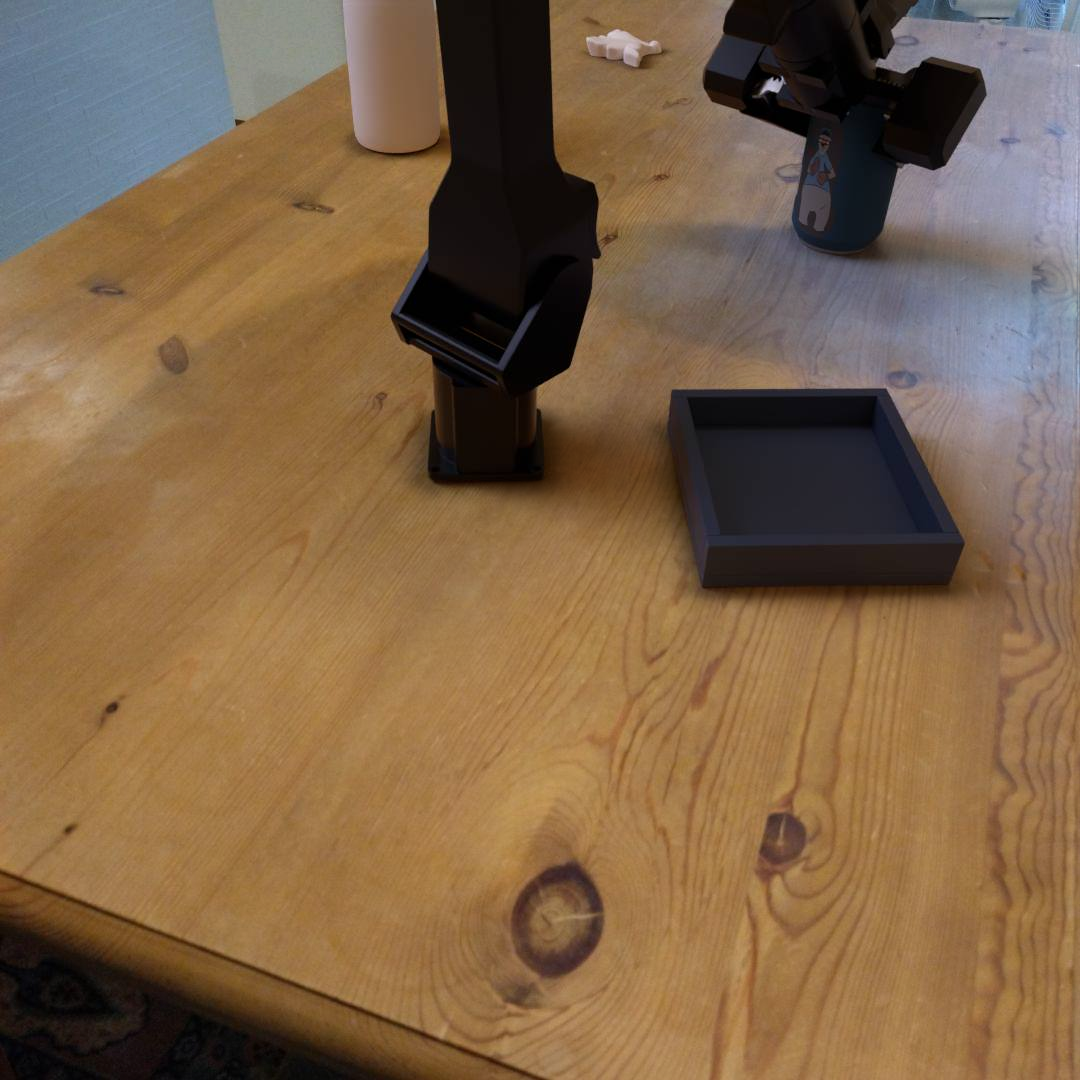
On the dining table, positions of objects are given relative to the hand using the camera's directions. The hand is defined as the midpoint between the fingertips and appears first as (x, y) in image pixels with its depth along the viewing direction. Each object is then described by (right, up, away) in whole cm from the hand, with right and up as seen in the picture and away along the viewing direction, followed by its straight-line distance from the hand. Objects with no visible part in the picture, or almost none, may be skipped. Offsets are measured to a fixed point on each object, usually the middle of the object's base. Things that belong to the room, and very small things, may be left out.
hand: (861, 148), depth 79 cm
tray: (-10, -27, -21) cm, 35 cm away
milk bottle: (-37, +7, +17) cm, 41 cm away
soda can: (-1, -6, +4) cm, 7 cm away
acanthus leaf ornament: (-15, +24, +37) cm, 46 cm away
